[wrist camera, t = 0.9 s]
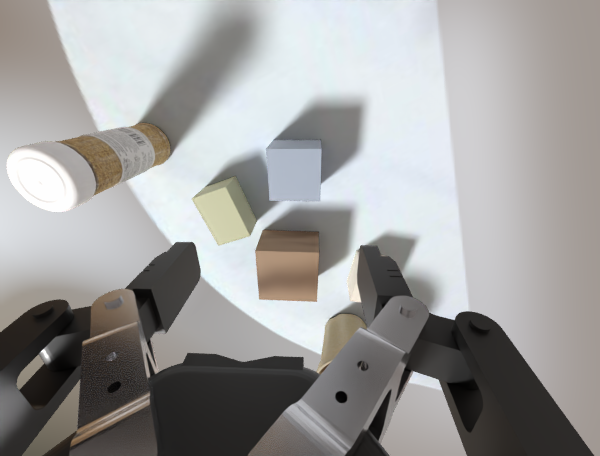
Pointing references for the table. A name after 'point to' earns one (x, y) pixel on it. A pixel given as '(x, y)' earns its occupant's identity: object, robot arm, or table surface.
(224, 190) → the olive block
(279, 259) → the walnut block
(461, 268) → the table surface
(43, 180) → the sprinkles bottle
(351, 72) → the table surface
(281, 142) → the slate block
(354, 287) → the cream block
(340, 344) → the flower pot
